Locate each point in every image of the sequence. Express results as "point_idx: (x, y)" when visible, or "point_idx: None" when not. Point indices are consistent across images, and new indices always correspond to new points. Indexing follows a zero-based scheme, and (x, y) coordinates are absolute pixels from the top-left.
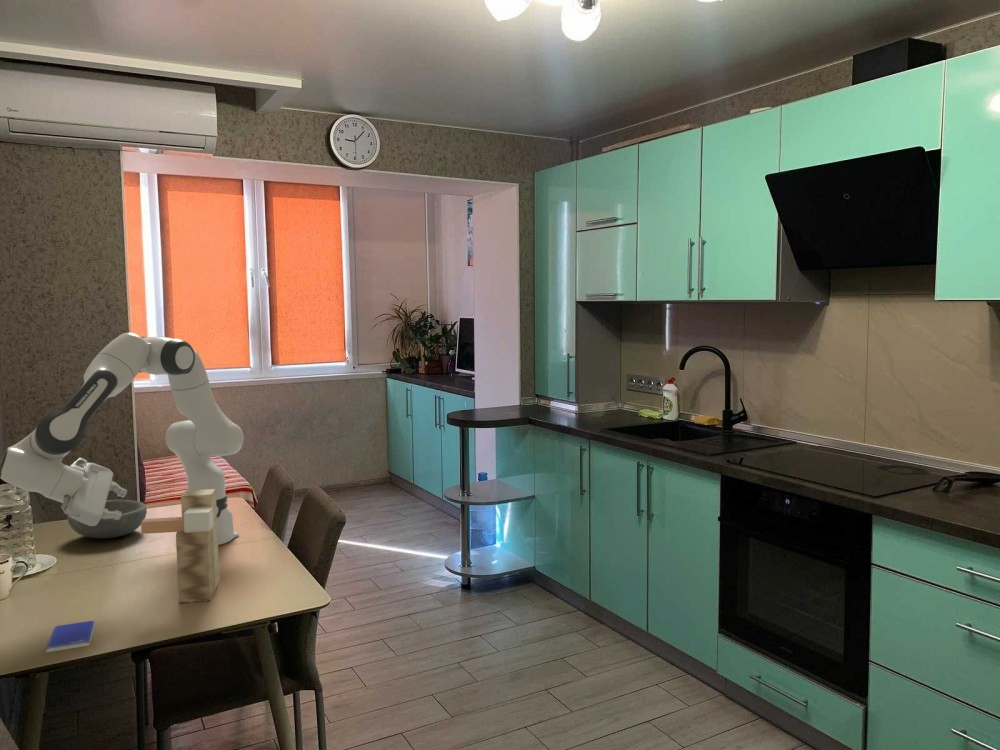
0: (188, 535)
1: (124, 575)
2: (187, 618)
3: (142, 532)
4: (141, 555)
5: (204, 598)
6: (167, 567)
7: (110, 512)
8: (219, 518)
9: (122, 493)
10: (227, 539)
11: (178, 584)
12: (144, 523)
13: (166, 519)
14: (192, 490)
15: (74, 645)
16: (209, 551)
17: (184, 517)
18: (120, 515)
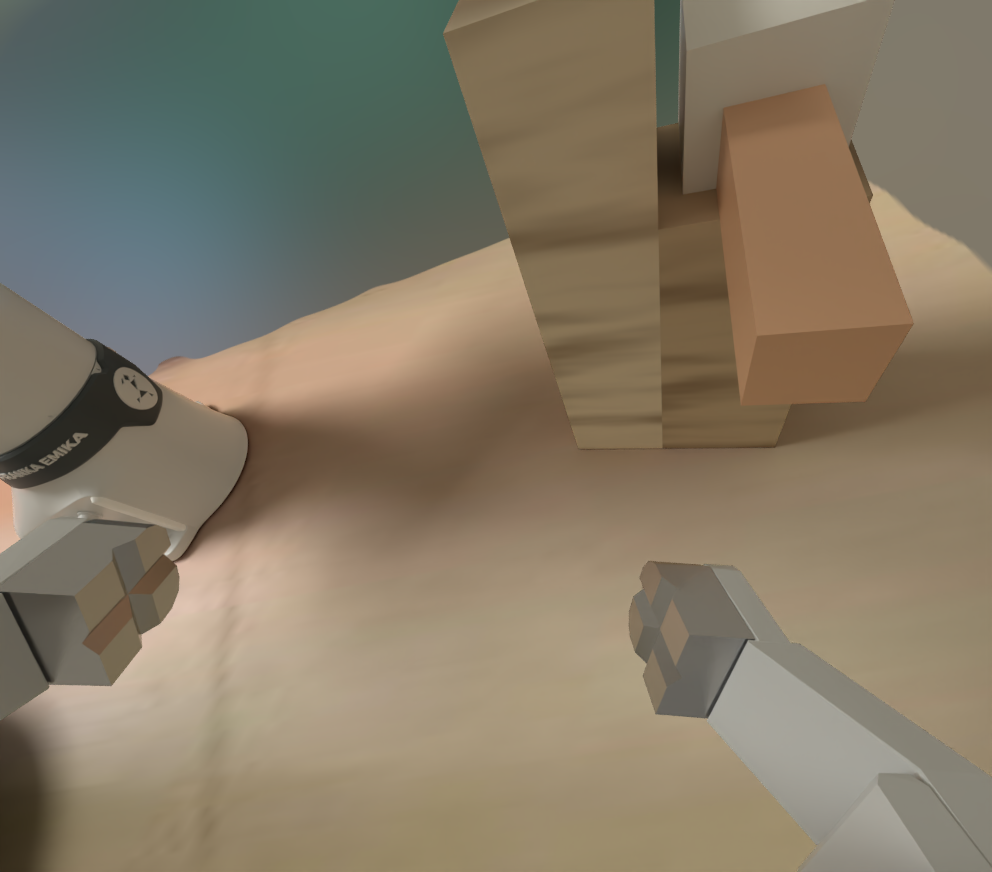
0: None
1: (377, 724)
2: (952, 387)
3: (866, 387)
4: (181, 682)
5: None
6: (364, 559)
7: (884, 715)
8: (165, 392)
9: (125, 581)
10: (230, 417)
11: (790, 404)
12: (895, 309)
13: (801, 179)
14: (464, 6)
15: None
16: None
17: (881, 34)
18: (735, 570)
